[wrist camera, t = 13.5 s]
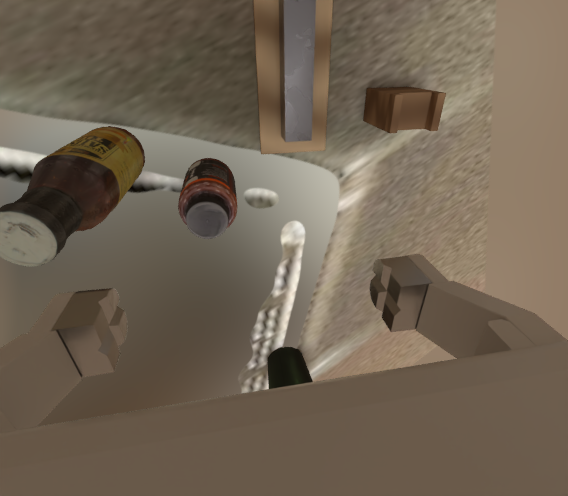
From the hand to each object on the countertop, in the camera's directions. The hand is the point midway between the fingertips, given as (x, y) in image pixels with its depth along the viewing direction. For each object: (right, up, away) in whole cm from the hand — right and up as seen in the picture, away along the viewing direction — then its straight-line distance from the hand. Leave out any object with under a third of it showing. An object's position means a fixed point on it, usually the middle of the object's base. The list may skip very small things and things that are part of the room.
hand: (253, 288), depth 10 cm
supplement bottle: (-8, +10, +30) cm, 32 cm away
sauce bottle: (-18, +12, +26) cm, 34 cm away
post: (+13, +19, +28) cm, 36 cm away
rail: (+2, +23, +23) cm, 33 cm away
